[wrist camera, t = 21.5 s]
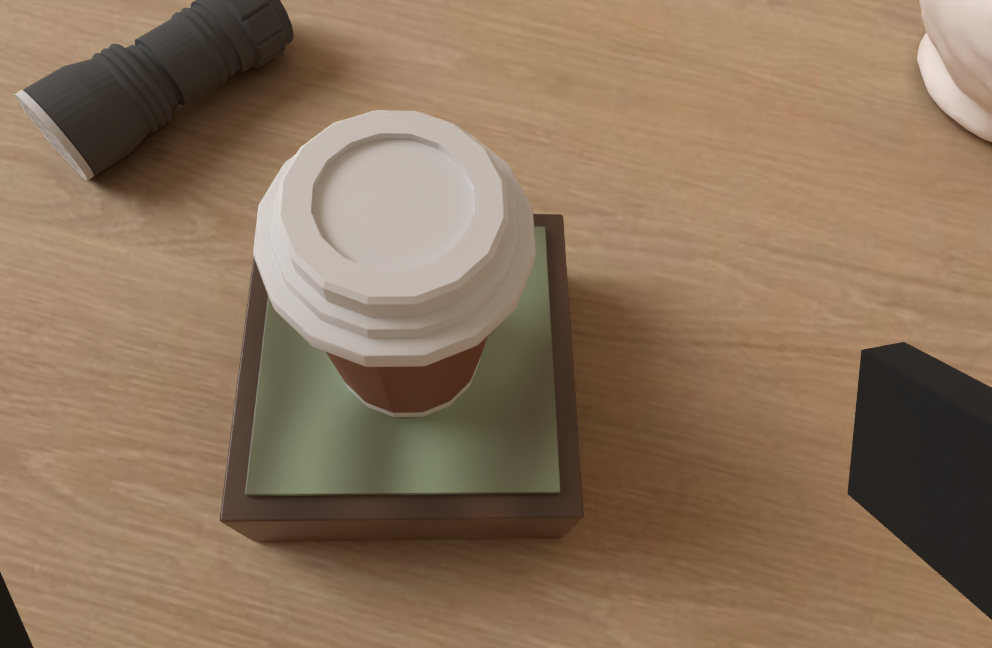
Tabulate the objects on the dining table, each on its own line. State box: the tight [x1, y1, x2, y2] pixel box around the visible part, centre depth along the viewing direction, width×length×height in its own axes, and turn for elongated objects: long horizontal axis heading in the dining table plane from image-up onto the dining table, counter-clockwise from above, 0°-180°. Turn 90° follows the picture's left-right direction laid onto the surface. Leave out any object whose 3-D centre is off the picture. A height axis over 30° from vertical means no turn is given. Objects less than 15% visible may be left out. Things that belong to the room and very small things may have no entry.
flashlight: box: [14, 0, 293, 180], centre depth 43 cm, size 15×5×5 cm, turn 136°
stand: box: [220, 214, 584, 542], centre depth 36 cm, size 15×15×6 cm
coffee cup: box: [253, 110, 536, 417], centre depth 28 cm, size 9×9×12 cm
